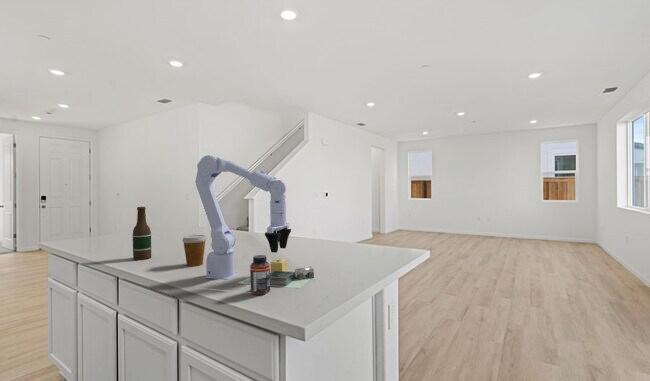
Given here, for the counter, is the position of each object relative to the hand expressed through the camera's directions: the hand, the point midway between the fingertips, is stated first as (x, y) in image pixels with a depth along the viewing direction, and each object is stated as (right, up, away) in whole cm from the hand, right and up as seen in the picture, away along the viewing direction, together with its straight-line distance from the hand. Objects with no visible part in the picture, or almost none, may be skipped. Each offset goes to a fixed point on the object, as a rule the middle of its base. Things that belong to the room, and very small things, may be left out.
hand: (278, 250), depth 119 cm
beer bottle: (-68, -10, +32) cm, 75 cm away
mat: (+1, -9, -5) cm, 11 cm away
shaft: (+10, -9, -4) cm, 14 cm away
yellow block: (0, -9, 0) cm, 9 cm away
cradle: (+2, -10, -9) cm, 13 cm away
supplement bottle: (-3, -10, -18) cm, 21 cm away
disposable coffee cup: (-38, -10, +19) cm, 44 cm away
